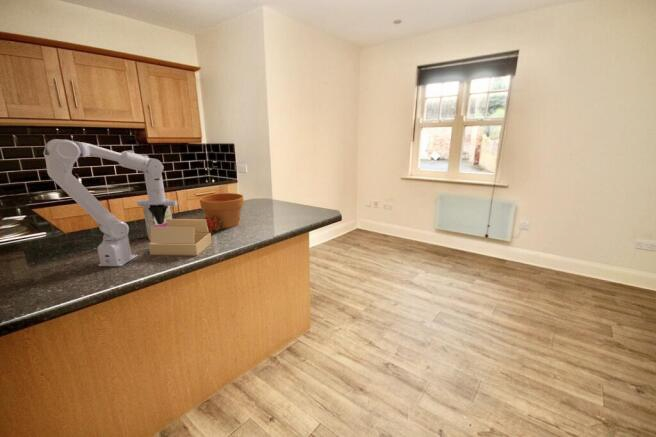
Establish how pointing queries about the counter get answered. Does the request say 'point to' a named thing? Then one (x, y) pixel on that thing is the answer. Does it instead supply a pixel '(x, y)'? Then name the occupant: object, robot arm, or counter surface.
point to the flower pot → (223, 207)
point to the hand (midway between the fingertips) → (160, 223)
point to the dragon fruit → (213, 224)
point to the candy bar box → (152, 221)
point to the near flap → (172, 235)
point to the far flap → (189, 224)
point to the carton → (182, 246)
